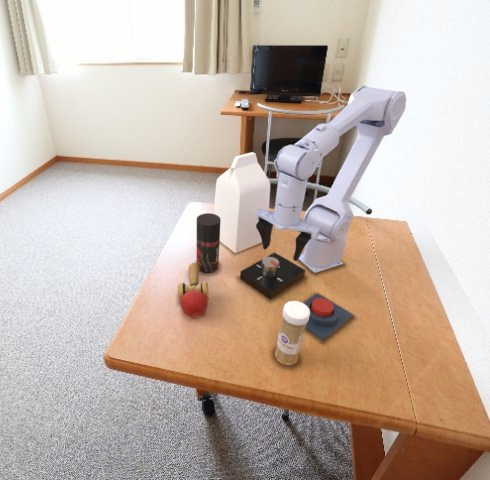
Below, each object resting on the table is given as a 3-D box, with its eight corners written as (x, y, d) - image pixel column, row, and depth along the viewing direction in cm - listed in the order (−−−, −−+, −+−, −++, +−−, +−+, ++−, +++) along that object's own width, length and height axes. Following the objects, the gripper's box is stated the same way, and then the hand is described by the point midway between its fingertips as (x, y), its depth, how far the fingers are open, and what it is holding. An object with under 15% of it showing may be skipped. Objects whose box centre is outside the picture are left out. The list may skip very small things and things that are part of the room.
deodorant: (217, 274, 92) (219, 226, 84) (195, 272, 93) (194, 224, 85) (219, 261, 97) (221, 214, 88) (198, 259, 98) (198, 212, 90)
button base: (317, 295, 84) (319, 287, 83) (352, 317, 78) (355, 309, 77) (287, 316, 79) (289, 308, 78) (322, 341, 73) (325, 333, 71)
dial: (257, 272, 88) (259, 259, 86) (268, 265, 90) (269, 253, 88) (269, 280, 86) (271, 267, 83) (280, 273, 87) (282, 261, 85)
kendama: (176, 276, 94) (173, 319, 78) (180, 256, 91) (178, 296, 75) (205, 280, 94) (208, 324, 78) (209, 260, 91) (213, 301, 75)
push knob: (318, 300, 80) (320, 295, 79) (336, 311, 77) (337, 306, 76) (306, 308, 78) (308, 303, 77) (324, 320, 75) (325, 315, 74)
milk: (235, 253, 100) (241, 167, 85) (211, 234, 108) (213, 153, 94) (267, 240, 104) (278, 156, 90) (242, 223, 113) (248, 144, 98)
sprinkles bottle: (270, 358, 70) (279, 310, 62) (280, 344, 73) (290, 296, 65) (292, 370, 67) (304, 322, 60) (302, 355, 70) (314, 307, 63)
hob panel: (273, 259, 96) (274, 251, 95) (304, 277, 90) (305, 269, 88) (239, 278, 90) (240, 270, 89) (269, 299, 84) (271, 291, 82)
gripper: (250, 200, 77) (245, 250, 84) (315, 219, 69) (304, 272, 77) (265, 188, 81) (259, 237, 89) (328, 205, 73) (316, 257, 81)
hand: (281, 252), depth 83 cm, fingers open, 7 cm apart
